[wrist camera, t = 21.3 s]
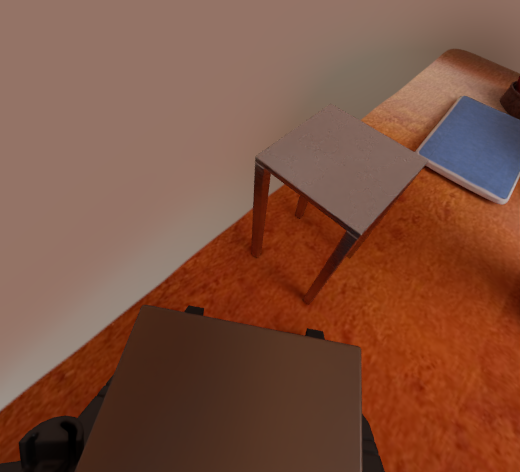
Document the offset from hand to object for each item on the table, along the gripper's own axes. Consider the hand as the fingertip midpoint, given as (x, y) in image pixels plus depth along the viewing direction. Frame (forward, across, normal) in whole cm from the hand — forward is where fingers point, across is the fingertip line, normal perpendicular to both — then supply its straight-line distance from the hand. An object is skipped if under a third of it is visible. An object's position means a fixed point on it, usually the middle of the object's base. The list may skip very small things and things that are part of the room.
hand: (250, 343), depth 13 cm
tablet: (+33, +27, +16) cm, 45 cm away
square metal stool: (+17, +4, 0) cm, 17 cm away
